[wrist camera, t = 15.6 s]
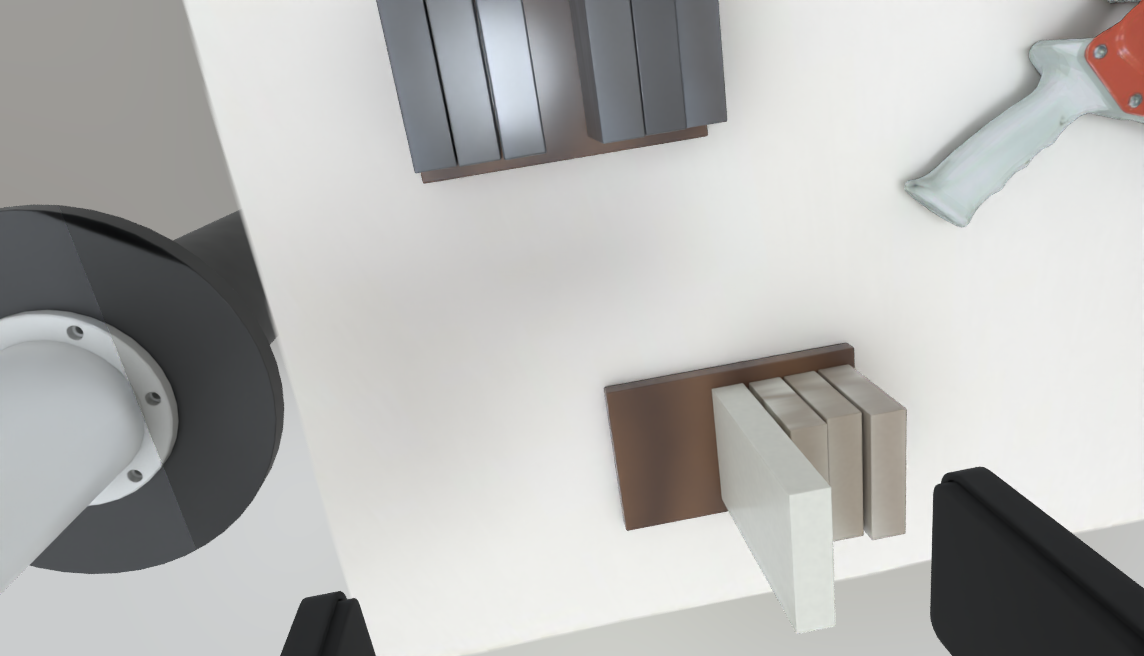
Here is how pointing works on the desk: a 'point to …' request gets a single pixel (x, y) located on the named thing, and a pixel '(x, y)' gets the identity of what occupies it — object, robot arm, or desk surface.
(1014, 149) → the tape dispenser
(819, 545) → the white book
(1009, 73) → the desk surface
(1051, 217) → the desk surface
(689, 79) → the grey book row
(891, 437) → the leaning book row
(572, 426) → the desk surface
